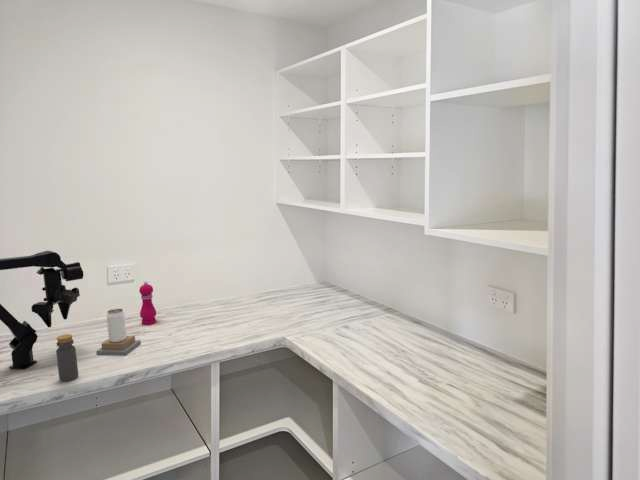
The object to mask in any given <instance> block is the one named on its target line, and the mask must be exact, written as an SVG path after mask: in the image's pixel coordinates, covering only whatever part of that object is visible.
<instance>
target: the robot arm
mask: <svg viewBox="0 0 640 480" xmlns="http://www.w3.org/2000/svg"><path fill="white" fill-rule="evenodd" d="M30 267H34V268H35V267H37V268H39V267H40V268H39V269H38V270H37V271H36V274H38V275H43V283H44V287H42V289H41V290H42V291H44V293H45V297H43V301H39V302H36V303H34V304H32V305H31V313H34V314H36V315H37V316H39V318H40V319H41V320H42V321H43V322H44V324H45V325H46V327H48V328H52V314H53V313H54V311H55V310H54V305H57V306H58V308H59V310H60V311H59V312H60V314H61V316H62V319H63V320H68V316H69V312H70V308H71V305H72V304H73V303H74V302H77V300H78V297H80V296H81V295H80V289H79V288H78V287H73V288H71V289H67V288H66V285H65V284H63V281H62V280H64V281H65V282H72V281H77V280H83V278H84V270H83V268H82V266H81V263H80V262H78V261H77V262H73V263H64V261H63V260H62V258H61V256H60V254H58V252H55V251H52V250H45V251H40V252H37V253H35V254H31V255H26V256H25V255H23V256H14V257H7V258H0V271H4V270H15V269H22V268H30ZM55 267H56V268H57V269H55ZM0 321H1V323H3V324H4V325H5V326H6V327H7V328H8V330H9V331H10V332H11V334H12V336H13V339H12V340H10V341H9V343H8V345H9V347H10V349H12V351H11V353H10V354H11V361H12V364H11V365H10V366H9V369H10V370H11V369H12V370H13V369H15V370H18V369H19V370H24V369H25V370H26V369H28V368H29V367H31V366H33V365H35V364H36V363H37V362H38V360H34V353H33V347H34V345H35V343H36V342H37V341H38V334H37V330H36V329H34V328H33V327H32V325H31V324H29V322H27V321H26V320H23V322H20V321H19V320H17V318H15V316H14V315H12V314H11V313H10V312H9V311H8V309H6V308H5V307H4V306H3V305H2V304H1V303H0Z"/></svg>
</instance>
